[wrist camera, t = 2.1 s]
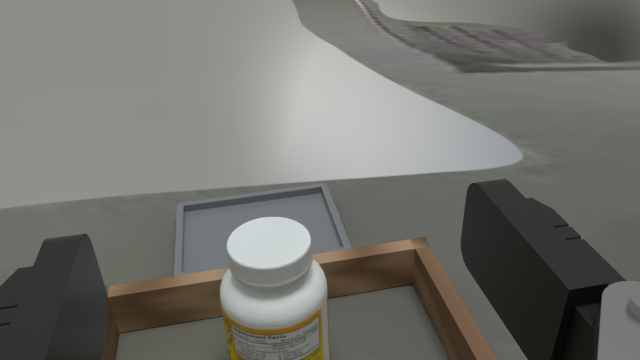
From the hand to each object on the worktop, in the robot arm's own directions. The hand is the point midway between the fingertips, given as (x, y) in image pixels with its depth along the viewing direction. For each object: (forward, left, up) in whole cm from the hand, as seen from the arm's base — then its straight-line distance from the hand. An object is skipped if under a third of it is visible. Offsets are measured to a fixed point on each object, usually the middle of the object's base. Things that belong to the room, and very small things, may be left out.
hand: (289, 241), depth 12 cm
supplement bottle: (0, -11, -18) cm, 21 cm away
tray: (0, -24, -18) cm, 30 cm away
